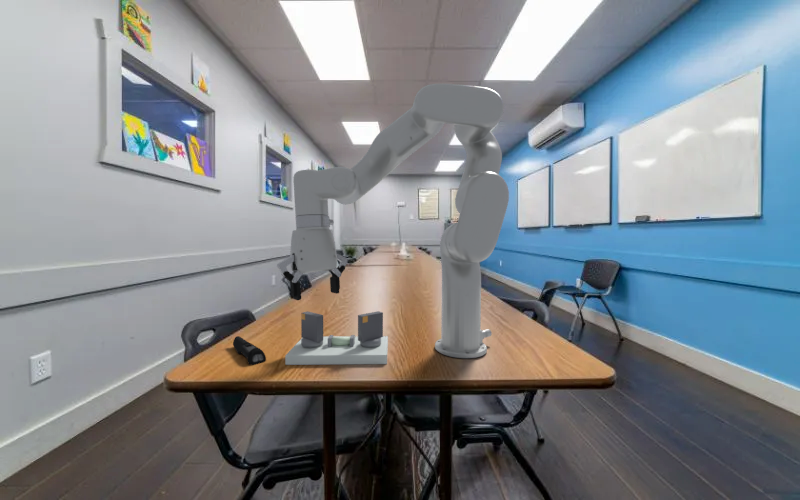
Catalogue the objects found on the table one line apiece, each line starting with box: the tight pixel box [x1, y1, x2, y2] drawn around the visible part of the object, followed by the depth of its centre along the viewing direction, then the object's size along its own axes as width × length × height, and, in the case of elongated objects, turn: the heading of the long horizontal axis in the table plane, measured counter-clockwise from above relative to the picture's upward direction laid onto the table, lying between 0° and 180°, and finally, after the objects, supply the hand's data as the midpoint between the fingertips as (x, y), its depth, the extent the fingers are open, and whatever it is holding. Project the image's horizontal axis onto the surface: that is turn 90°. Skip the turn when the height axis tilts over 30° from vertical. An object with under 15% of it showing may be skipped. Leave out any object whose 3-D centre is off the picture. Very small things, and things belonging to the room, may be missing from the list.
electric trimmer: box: [232, 336, 267, 366], centre depth 70 cm, size 4×16×3 cm, turn 44°
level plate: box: [284, 334, 389, 366], centre depth 71 cm, size 22×13×4 cm, turn 92°
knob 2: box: [357, 310, 384, 347], centre depth 71 cm, size 6×5×7 cm
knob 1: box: [300, 311, 324, 348], centre depth 71 cm, size 6×5×7 cm
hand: (316, 296), depth 70 cm, fingers open, 9 cm apart
